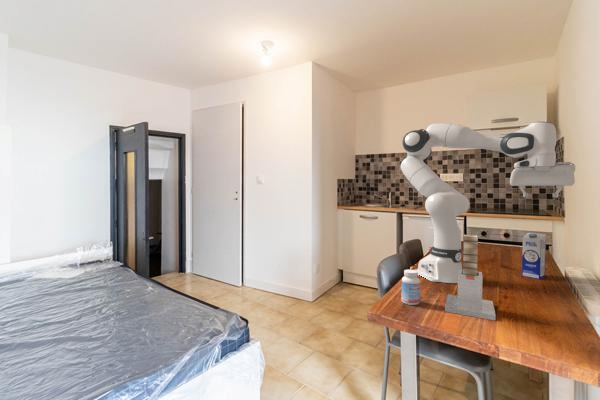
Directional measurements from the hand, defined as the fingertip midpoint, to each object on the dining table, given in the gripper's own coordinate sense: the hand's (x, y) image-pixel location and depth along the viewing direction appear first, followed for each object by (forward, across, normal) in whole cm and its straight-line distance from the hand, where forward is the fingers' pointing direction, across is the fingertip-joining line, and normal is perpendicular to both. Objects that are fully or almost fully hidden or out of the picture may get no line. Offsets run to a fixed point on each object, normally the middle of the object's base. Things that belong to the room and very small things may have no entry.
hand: (540, 197), depth 120 cm
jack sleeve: (+37, +24, +37) cm, 58 cm away
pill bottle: (+37, +42, +41) cm, 70 cm away
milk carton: (+37, -2, -21) cm, 43 cm away
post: (+30, +24, +37) cm, 53 cm away
